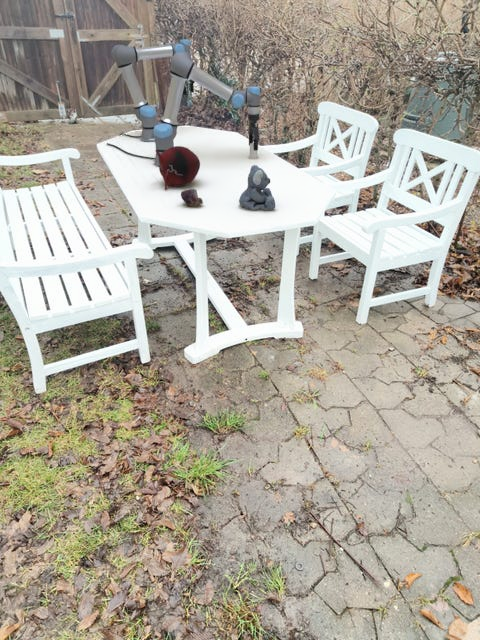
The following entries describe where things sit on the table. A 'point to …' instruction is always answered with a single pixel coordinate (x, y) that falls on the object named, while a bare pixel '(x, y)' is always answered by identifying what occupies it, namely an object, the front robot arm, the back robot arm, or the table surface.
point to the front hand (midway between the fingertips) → (253, 147)
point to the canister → (253, 151)
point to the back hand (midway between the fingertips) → (188, 93)
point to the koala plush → (257, 191)
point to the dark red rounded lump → (178, 166)
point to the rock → (191, 197)
